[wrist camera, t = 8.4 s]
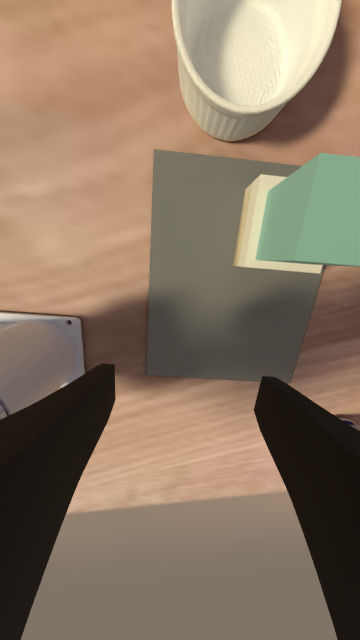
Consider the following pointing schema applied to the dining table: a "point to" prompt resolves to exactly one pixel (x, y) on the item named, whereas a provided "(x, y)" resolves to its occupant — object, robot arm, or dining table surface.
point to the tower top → (254, 227)
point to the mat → (217, 278)
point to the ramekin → (248, 58)
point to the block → (314, 214)
